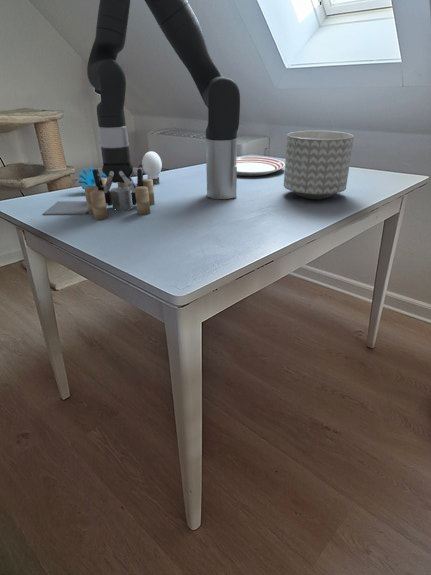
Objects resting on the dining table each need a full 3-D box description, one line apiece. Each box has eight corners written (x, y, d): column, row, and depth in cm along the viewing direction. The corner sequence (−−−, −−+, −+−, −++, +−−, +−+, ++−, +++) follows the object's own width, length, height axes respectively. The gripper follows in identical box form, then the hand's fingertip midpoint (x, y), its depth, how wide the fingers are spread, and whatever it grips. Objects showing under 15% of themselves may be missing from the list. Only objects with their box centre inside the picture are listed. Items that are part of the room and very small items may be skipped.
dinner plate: (289, 178, 145) (290, 169, 143) (215, 179, 146) (215, 170, 144) (279, 164, 169) (280, 156, 168) (216, 164, 170) (216, 156, 168)
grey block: (133, 205, 117) (131, 186, 114) (129, 211, 112) (127, 191, 109) (116, 205, 117) (113, 186, 114) (111, 211, 112) (109, 192, 109)
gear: (81, 192, 124) (76, 165, 127) (79, 202, 129) (74, 176, 131) (116, 192, 129) (110, 166, 132) (112, 201, 134) (107, 176, 137)
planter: (355, 195, 124) (365, 134, 115) (325, 208, 112) (333, 141, 103) (303, 185, 136) (308, 129, 127) (270, 196, 123) (274, 135, 115)
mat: (97, 202, 120) (97, 201, 119) (85, 214, 109) (85, 213, 109) (58, 202, 120) (57, 201, 120) (42, 215, 109) (42, 213, 109)
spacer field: (157, 197, 124) (155, 174, 120) (147, 219, 105) (144, 193, 101) (102, 198, 124) (98, 175, 121) (81, 220, 105) (76, 194, 102)
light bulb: (161, 180, 144) (158, 149, 138) (164, 184, 138) (162, 152, 133) (142, 182, 142) (139, 150, 136) (145, 186, 136) (142, 153, 131)
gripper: (143, 142, 109) (148, 200, 117) (92, 142, 109) (100, 201, 117) (138, 146, 103) (144, 208, 111) (84, 146, 103) (94, 208, 111)
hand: (122, 204), depth 114 cm, fingers open, 6 cm apart
